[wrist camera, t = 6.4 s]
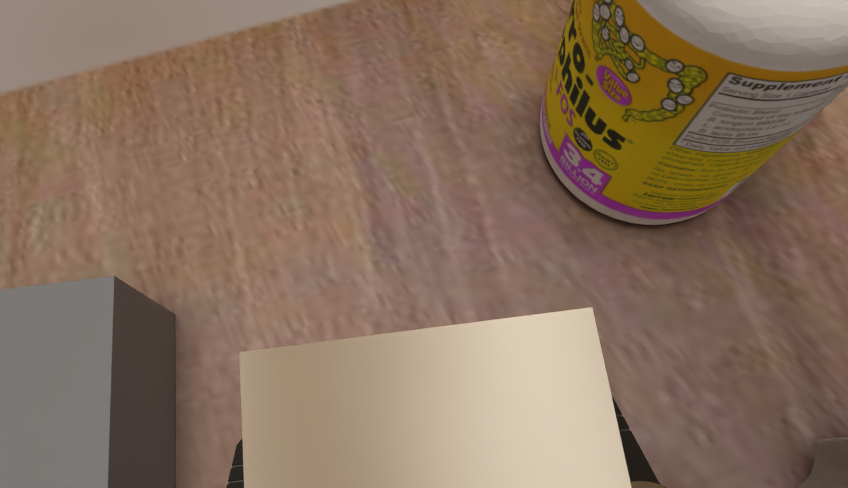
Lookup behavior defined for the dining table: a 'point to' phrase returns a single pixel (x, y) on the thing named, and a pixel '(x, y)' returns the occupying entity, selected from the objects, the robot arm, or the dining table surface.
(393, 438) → the cream block
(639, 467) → the robot arm
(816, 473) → the egg carton
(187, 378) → the dining table surface
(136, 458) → the plinth
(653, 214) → the supplement bottle
